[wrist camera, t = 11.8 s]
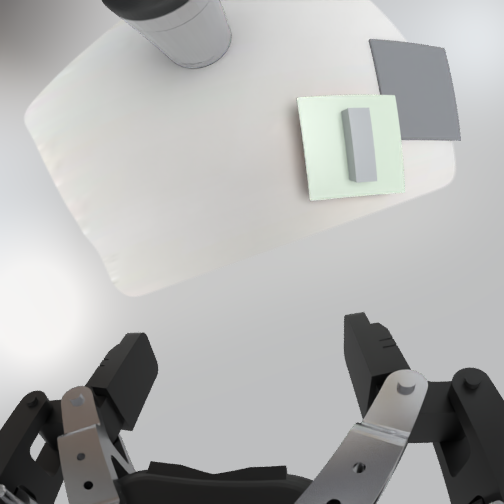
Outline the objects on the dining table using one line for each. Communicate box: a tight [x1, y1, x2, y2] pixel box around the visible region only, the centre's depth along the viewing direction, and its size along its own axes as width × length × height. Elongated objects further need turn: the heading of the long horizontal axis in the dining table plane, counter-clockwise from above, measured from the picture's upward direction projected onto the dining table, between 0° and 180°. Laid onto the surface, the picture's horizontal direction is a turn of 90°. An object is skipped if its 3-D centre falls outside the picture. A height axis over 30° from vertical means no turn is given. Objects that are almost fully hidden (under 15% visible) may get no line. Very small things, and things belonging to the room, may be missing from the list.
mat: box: [369, 39, 461, 141], centre depth 32 cm, size 15×13×1 cm
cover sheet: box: [296, 95, 405, 201], centre depth 30 cm, size 12×12×4 cm
